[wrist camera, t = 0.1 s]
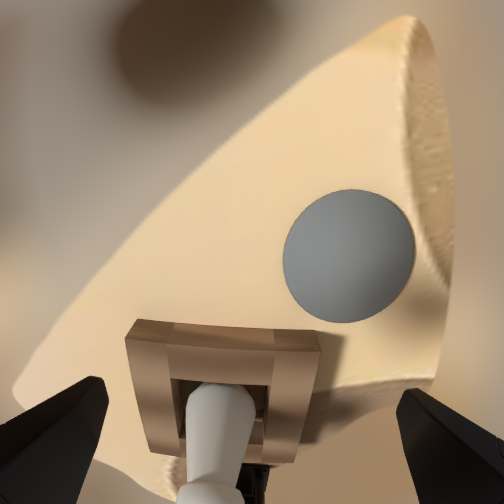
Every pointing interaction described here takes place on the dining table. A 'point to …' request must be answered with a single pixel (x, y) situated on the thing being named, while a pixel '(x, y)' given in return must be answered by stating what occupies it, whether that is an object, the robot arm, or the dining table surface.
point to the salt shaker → (216, 442)
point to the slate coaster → (348, 256)
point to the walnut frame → (223, 380)
